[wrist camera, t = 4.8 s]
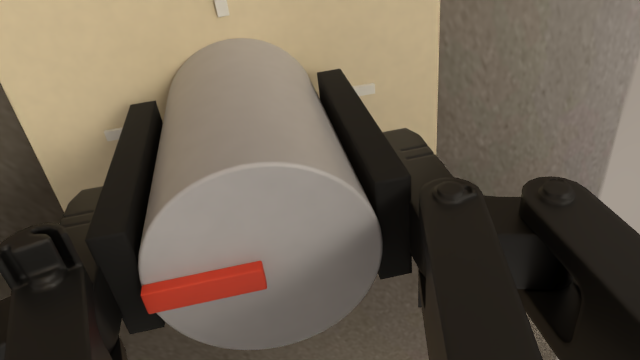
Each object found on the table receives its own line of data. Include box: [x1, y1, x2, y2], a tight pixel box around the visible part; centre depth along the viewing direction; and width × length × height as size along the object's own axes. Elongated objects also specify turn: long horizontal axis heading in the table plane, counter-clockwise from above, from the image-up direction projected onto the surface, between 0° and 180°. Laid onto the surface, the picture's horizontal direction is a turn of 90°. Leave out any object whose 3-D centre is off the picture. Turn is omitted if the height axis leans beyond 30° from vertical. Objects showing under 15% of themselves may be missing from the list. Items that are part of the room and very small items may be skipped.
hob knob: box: [138, 38, 383, 350], centre depth 13 cm, size 5×5×8 cm
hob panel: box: [0, 0, 440, 213], centre depth 18 cm, size 14×11×3 cm
